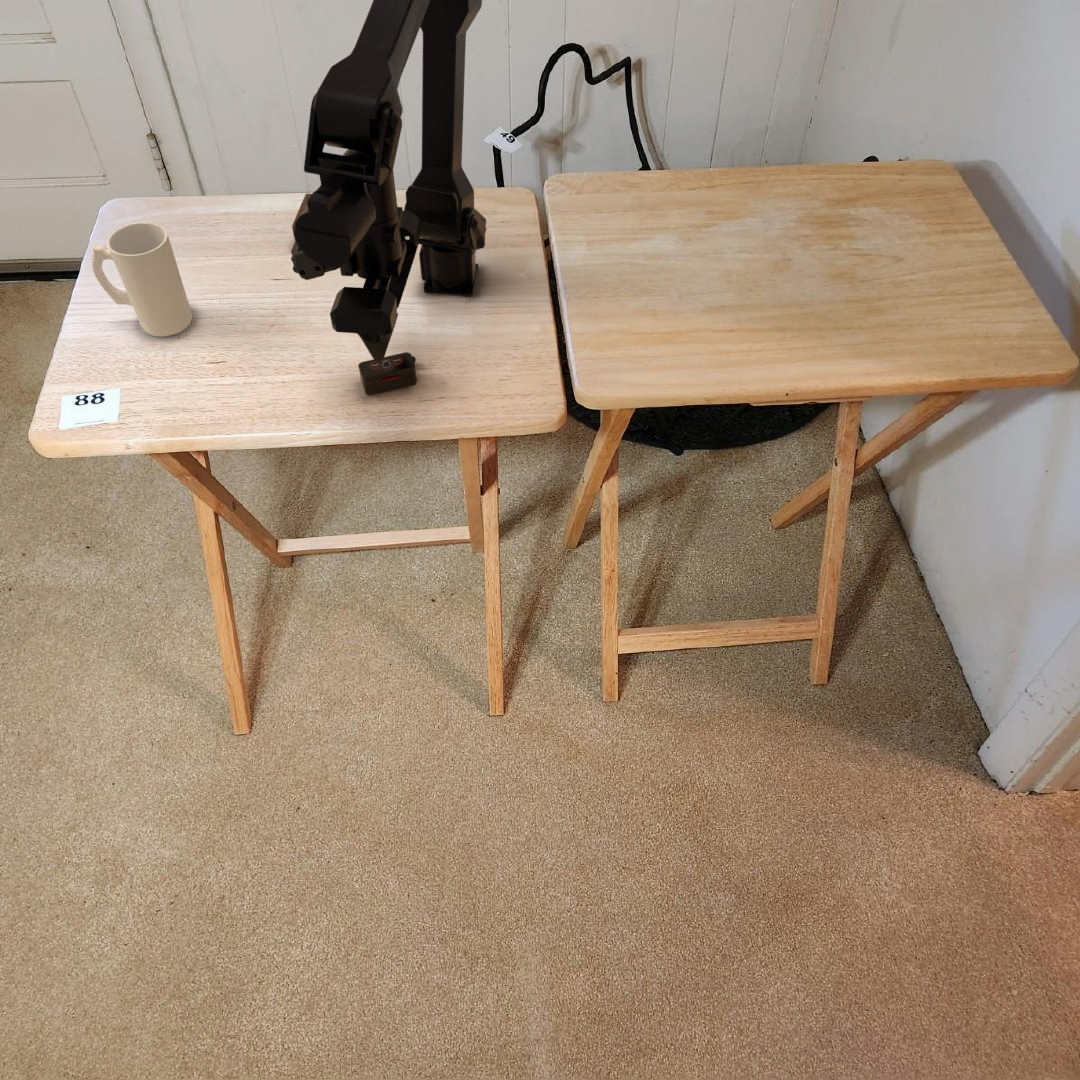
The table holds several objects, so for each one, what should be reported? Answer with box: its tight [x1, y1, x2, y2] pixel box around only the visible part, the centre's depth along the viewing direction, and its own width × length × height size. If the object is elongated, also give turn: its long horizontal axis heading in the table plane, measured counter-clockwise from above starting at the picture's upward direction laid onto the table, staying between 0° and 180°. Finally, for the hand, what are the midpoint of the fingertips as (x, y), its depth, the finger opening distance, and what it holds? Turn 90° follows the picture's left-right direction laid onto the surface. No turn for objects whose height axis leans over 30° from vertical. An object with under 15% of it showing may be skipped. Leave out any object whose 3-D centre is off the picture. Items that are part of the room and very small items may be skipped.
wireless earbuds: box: [358, 351, 418, 397], centre depth 115 cm, size 5×7×3 cm, turn 110°
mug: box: [91, 221, 193, 338], centre depth 118 cm, size 10×7×12 cm, turn 89°
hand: (386, 332), depth 111 cm, fingers open, 9 cm apart
